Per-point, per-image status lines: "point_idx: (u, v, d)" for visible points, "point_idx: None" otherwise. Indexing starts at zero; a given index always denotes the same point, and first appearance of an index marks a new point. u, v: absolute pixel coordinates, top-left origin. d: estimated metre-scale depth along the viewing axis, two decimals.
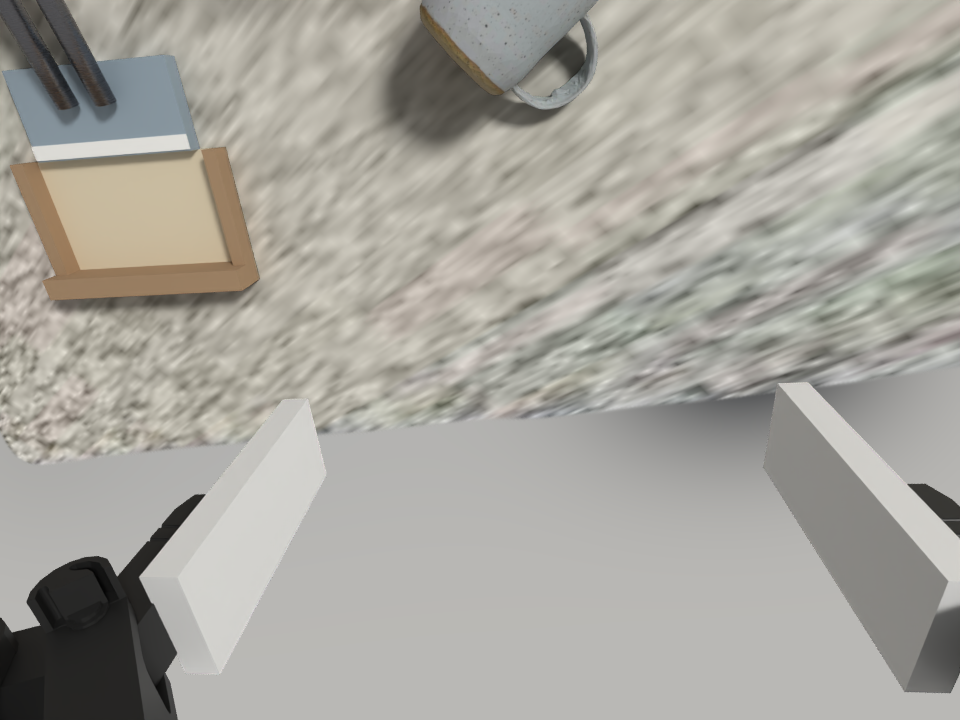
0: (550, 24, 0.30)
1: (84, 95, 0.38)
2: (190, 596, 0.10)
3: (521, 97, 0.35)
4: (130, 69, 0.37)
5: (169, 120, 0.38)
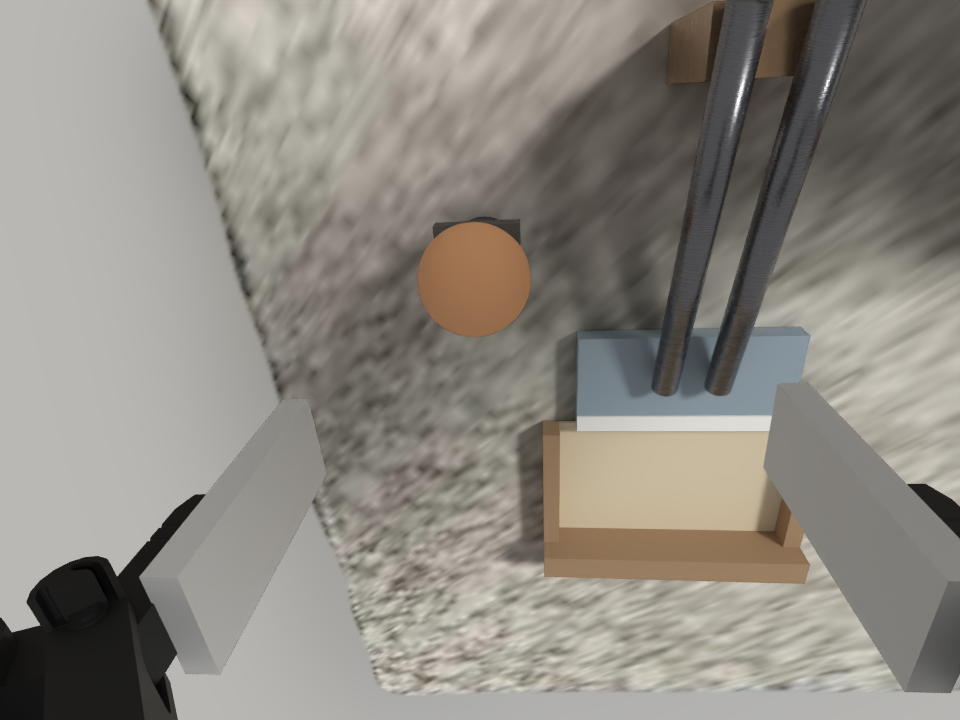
0: None
1: None
2: (190, 596, 0.10)
3: None
4: (756, 348, 0.29)
5: None
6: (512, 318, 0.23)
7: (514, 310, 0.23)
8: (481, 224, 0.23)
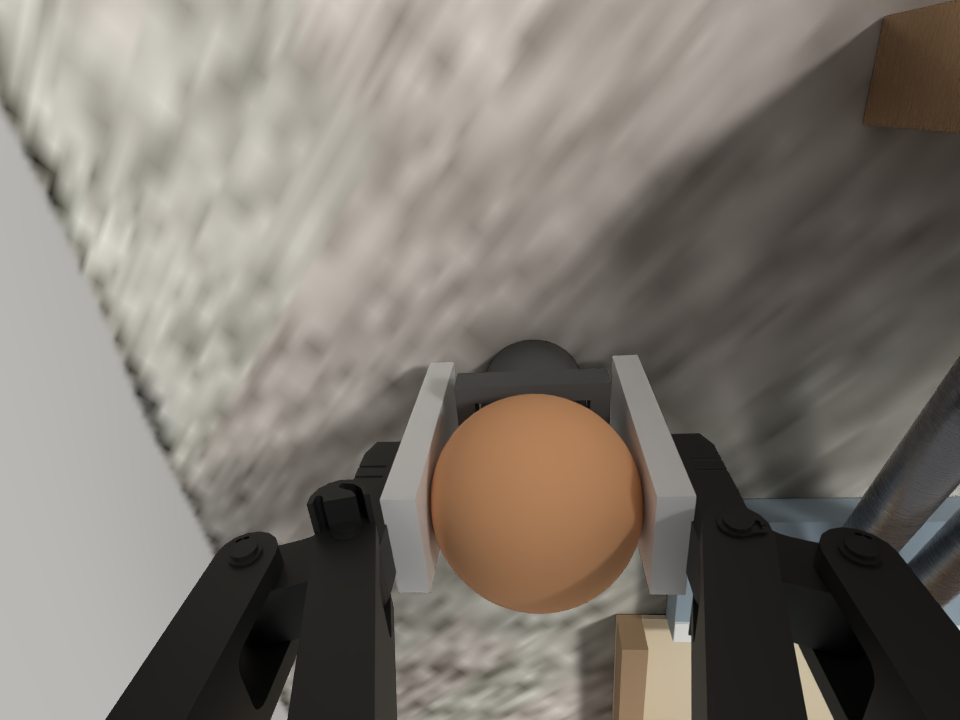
0: None
1: None
2: (418, 518, 0.12)
3: None
4: None
5: None
6: None
7: (619, 575, 0.12)
8: (551, 411, 0.12)
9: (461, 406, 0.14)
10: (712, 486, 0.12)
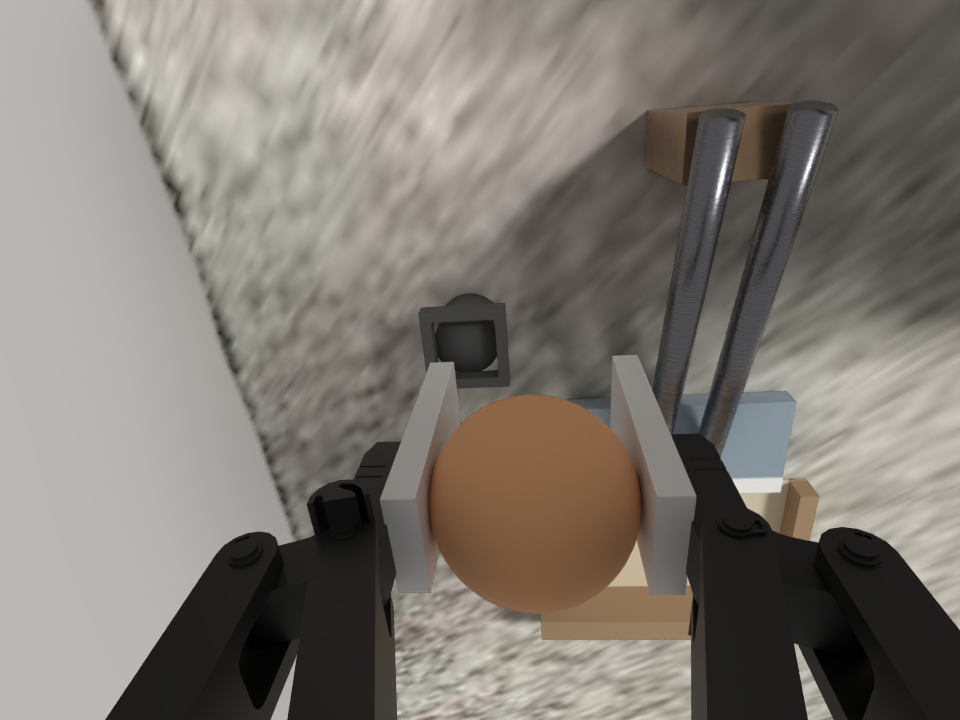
0: None
1: None
2: (418, 518, 0.12)
3: None
4: (743, 414, 0.29)
5: (767, 463, 0.31)
6: None
7: (616, 576, 0.12)
8: (549, 412, 0.12)
9: (422, 324, 0.26)
10: (712, 486, 0.12)
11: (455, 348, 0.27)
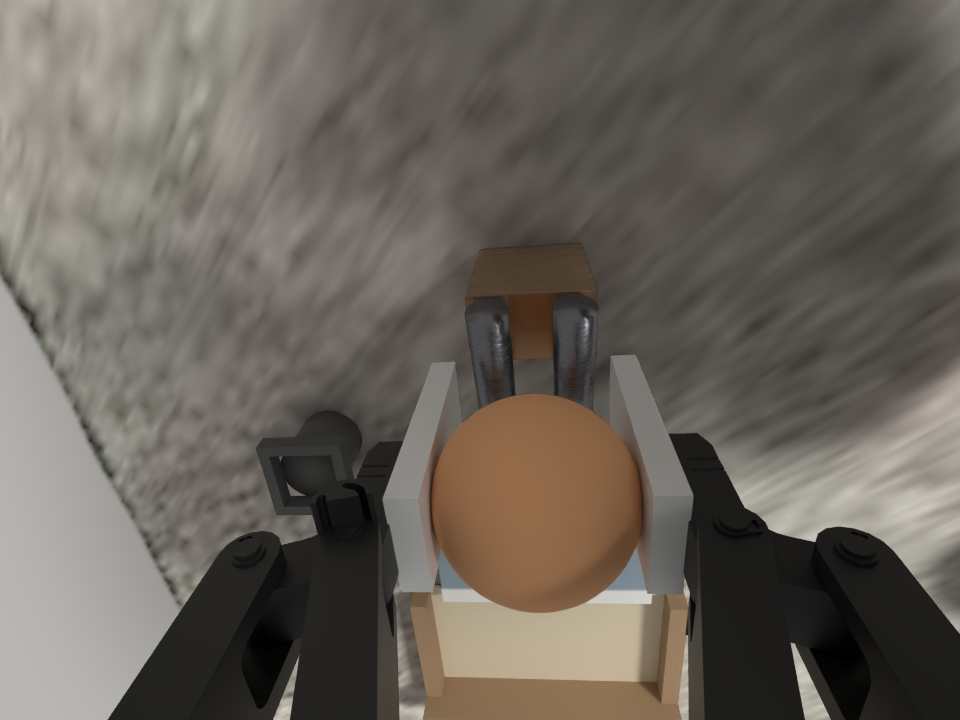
0: None
1: None
2: (421, 518, 0.12)
3: None
4: None
5: (635, 577, 0.30)
6: None
7: (618, 575, 0.12)
8: (551, 411, 0.12)
9: (261, 457, 0.26)
10: (709, 485, 0.12)
11: (302, 475, 0.27)
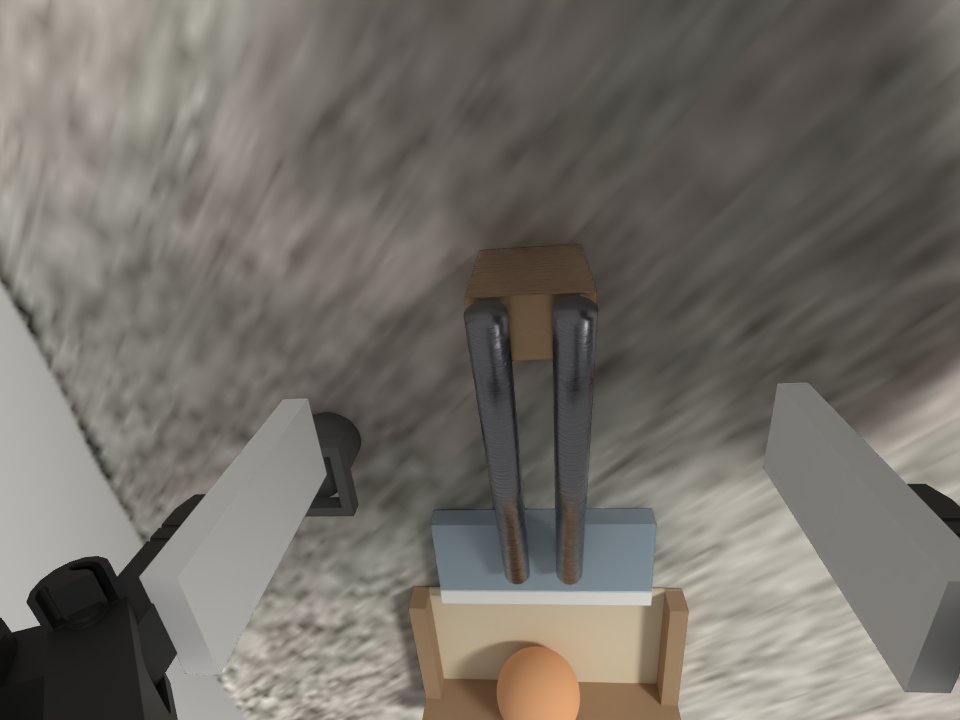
0: None
1: (531, 552, 0.30)
2: (190, 596, 0.10)
3: None
4: (605, 534, 0.29)
5: (635, 579, 0.30)
6: None
7: None
8: None
9: None
10: None
11: None
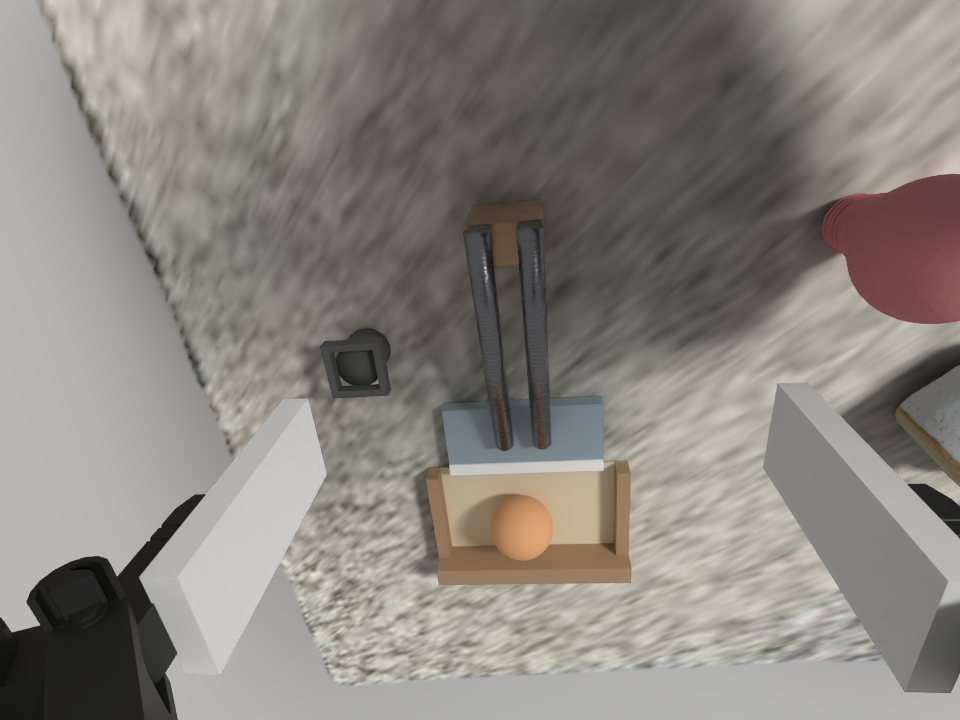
0: None
1: (514, 430, 0.41)
2: (190, 596, 0.10)
3: None
4: (567, 413, 0.40)
5: (590, 449, 0.42)
6: None
7: None
8: (510, 557, 0.42)
9: (323, 353, 0.37)
10: None
11: (351, 369, 0.38)
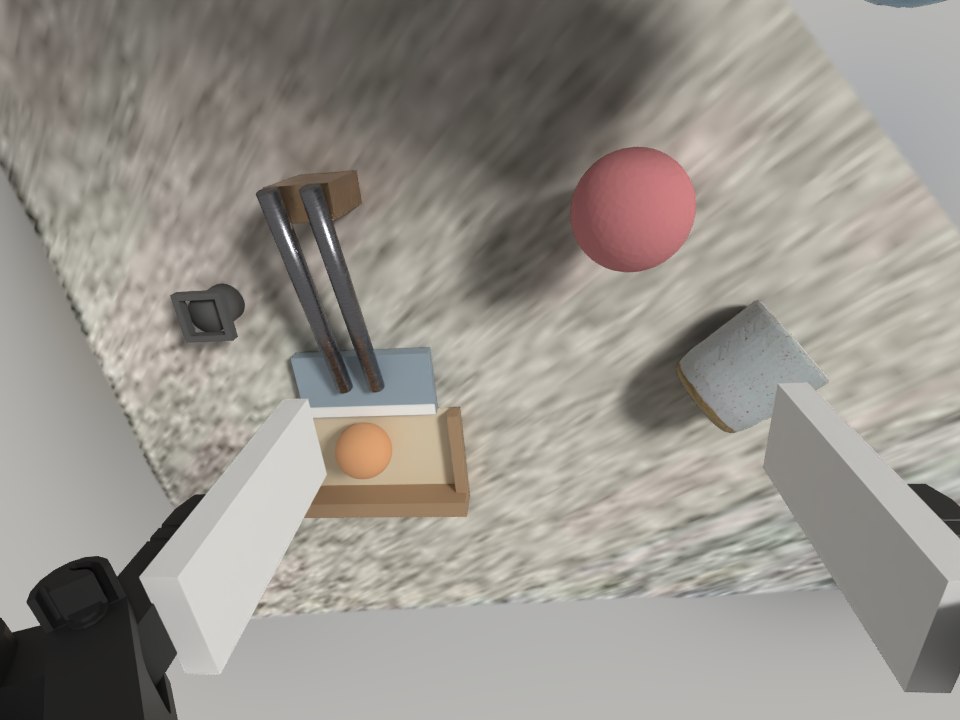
0: None
1: (355, 376, 0.47)
2: (190, 596, 0.10)
3: None
4: (398, 361, 0.46)
5: (422, 394, 0.47)
6: None
7: None
8: (345, 465, 0.47)
9: (174, 302, 0.42)
10: None
11: (201, 317, 0.44)
